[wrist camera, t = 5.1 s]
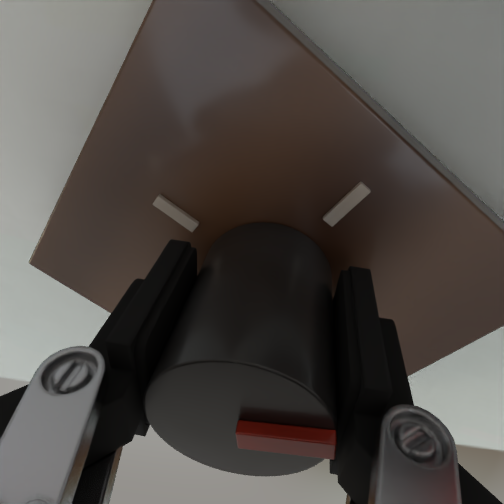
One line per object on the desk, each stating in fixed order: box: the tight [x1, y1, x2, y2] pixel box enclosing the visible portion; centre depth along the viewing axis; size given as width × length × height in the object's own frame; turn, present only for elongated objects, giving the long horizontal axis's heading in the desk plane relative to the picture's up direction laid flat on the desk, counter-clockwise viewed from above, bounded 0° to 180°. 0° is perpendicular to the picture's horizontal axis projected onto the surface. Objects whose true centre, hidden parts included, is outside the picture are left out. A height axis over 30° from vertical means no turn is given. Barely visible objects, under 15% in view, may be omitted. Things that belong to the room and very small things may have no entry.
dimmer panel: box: [29, 0, 504, 377], centre depth 13 cm, size 13×11×3 cm
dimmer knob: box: [143, 222, 338, 476], centre depth 9 cm, size 4×4×5 cm
